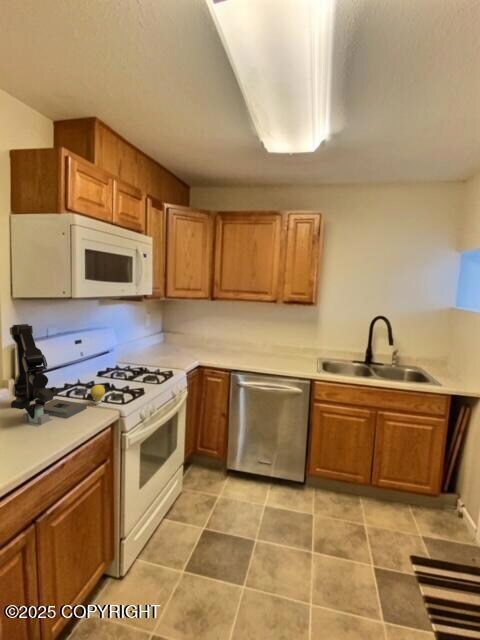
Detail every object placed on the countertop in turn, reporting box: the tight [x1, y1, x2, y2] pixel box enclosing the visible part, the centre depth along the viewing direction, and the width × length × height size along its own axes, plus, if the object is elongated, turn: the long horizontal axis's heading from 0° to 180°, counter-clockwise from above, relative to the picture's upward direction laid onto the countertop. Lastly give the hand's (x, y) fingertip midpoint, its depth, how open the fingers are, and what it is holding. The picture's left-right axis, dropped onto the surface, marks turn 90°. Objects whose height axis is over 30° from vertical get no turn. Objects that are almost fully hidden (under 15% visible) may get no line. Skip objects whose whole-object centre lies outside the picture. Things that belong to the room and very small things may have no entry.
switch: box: [43, 398, 88, 419], centre depth 165 cm, size 18×12×3 cm, turn 73°
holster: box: [19, 412, 54, 428], centre depth 152 cm, size 10×8×4 cm
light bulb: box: [90, 384, 106, 406], centre depth 175 cm, size 7×7×10 cm
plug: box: [28, 404, 44, 423], centre depth 152 cm, size 5×3×7 cm, turn 73°
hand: (36, 417), depth 152 cm, fingers closed on plug, 3 cm apart
